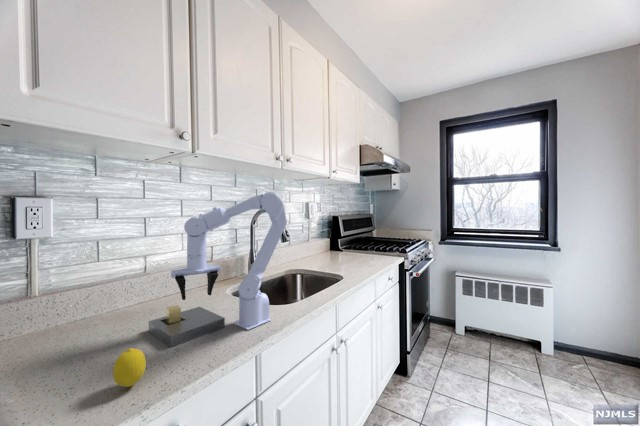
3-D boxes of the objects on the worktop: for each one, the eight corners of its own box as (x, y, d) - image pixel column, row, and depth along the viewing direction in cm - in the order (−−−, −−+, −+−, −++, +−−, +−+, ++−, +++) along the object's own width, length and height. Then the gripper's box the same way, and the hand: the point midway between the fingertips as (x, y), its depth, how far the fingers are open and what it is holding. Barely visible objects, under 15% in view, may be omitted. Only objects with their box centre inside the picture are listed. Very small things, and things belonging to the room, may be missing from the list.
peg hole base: (199, 314, 92) (199, 306, 92) (224, 327, 82) (224, 317, 82) (148, 331, 79) (148, 321, 79) (170, 347, 69) (170, 336, 69)
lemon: (140, 375, 58) (141, 339, 58) (149, 385, 54) (149, 347, 54) (109, 388, 53) (109, 349, 53) (116, 400, 50) (117, 359, 50)
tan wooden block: (177, 326, 82) (177, 304, 82) (180, 330, 79) (180, 308, 79) (165, 329, 80) (165, 307, 80) (168, 334, 77) (168, 310, 77)
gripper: (173, 258, 75) (172, 305, 75) (223, 254, 84) (223, 295, 84) (169, 255, 81) (169, 298, 81) (217, 251, 90) (217, 290, 90)
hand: (196, 296), depth 83 cm, fingers open, 7 cm apart
